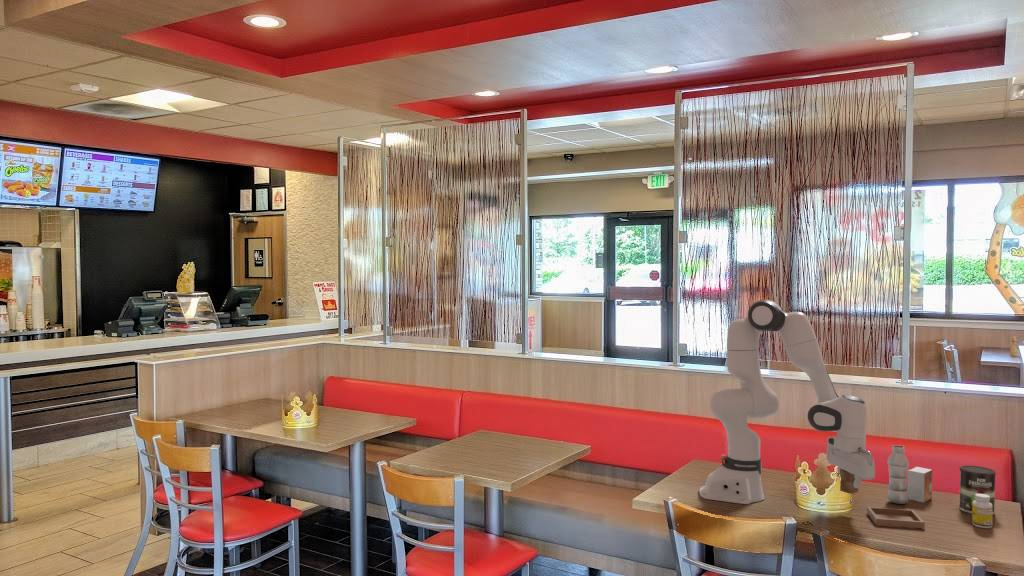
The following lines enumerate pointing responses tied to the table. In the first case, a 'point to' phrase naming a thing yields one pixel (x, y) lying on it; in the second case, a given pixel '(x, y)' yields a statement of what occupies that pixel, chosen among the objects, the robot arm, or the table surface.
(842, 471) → the block
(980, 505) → the supplement bottle
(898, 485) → the plastic bottle
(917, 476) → the small box
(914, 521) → the tray
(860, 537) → the table surface
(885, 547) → the table surface
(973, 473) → the coffee can
